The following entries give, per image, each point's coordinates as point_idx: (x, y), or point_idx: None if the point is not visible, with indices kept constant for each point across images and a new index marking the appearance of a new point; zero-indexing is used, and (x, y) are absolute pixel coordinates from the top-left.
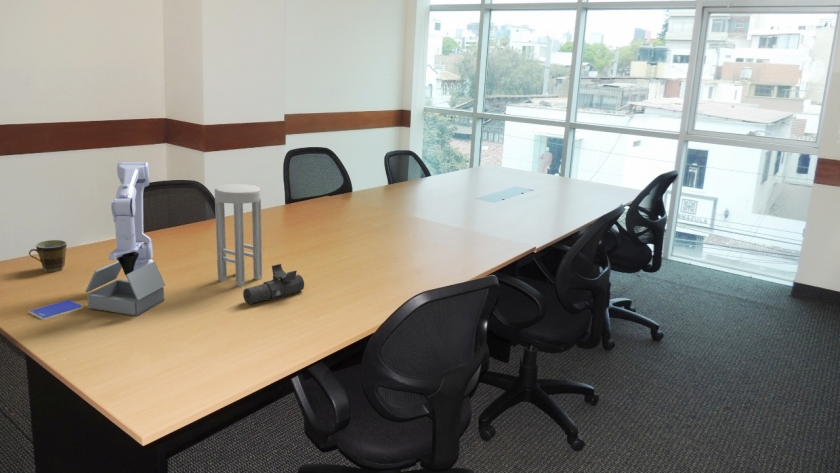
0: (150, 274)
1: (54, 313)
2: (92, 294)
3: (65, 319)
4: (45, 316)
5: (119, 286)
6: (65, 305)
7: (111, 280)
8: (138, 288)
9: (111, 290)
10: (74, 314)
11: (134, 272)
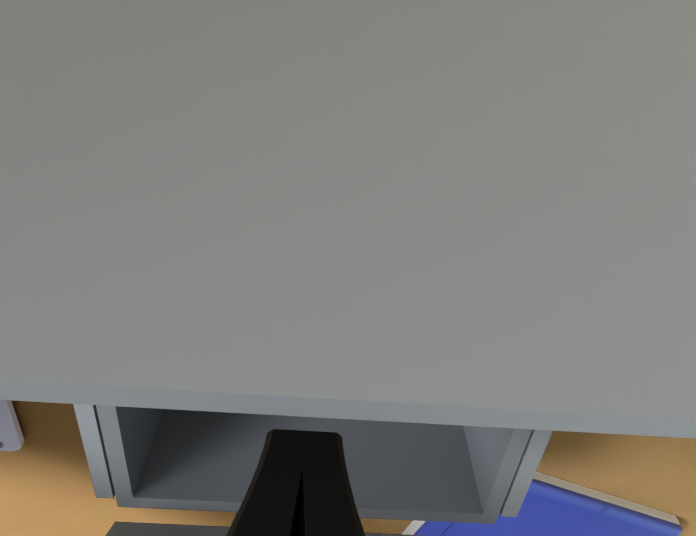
0: (154, 137)
1: (624, 516)
2: (503, 495)
3: (675, 438)
4: (671, 527)
5: (147, 440)
6: (495, 529)
7: (184, 529)
8: (677, 72)
9: (234, 447)
10: (587, 437)
11: (692, 377)
